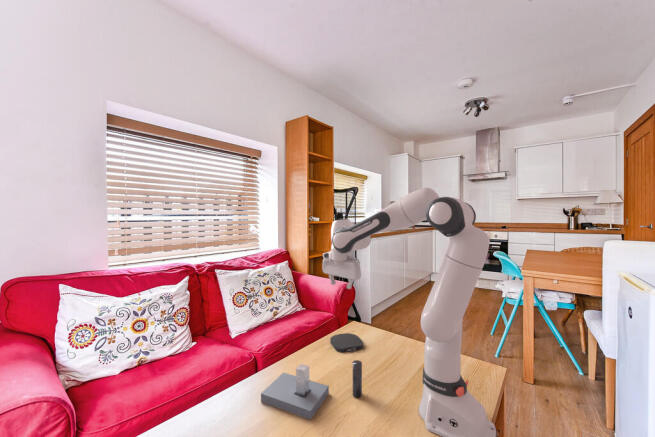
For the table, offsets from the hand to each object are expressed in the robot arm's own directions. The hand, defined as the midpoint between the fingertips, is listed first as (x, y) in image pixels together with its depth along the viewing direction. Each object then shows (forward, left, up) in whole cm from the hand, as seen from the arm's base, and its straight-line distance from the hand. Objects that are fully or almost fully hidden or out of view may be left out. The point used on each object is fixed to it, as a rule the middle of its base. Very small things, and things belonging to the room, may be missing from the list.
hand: (340, 286), depth 122 cm
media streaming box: (+9, -14, -35) cm, 38 cm away
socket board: (-4, +29, -34) cm, 45 cm away
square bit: (-7, +28, -34) cm, 45 cm away
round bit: (-19, +12, -34) cm, 41 cm away
